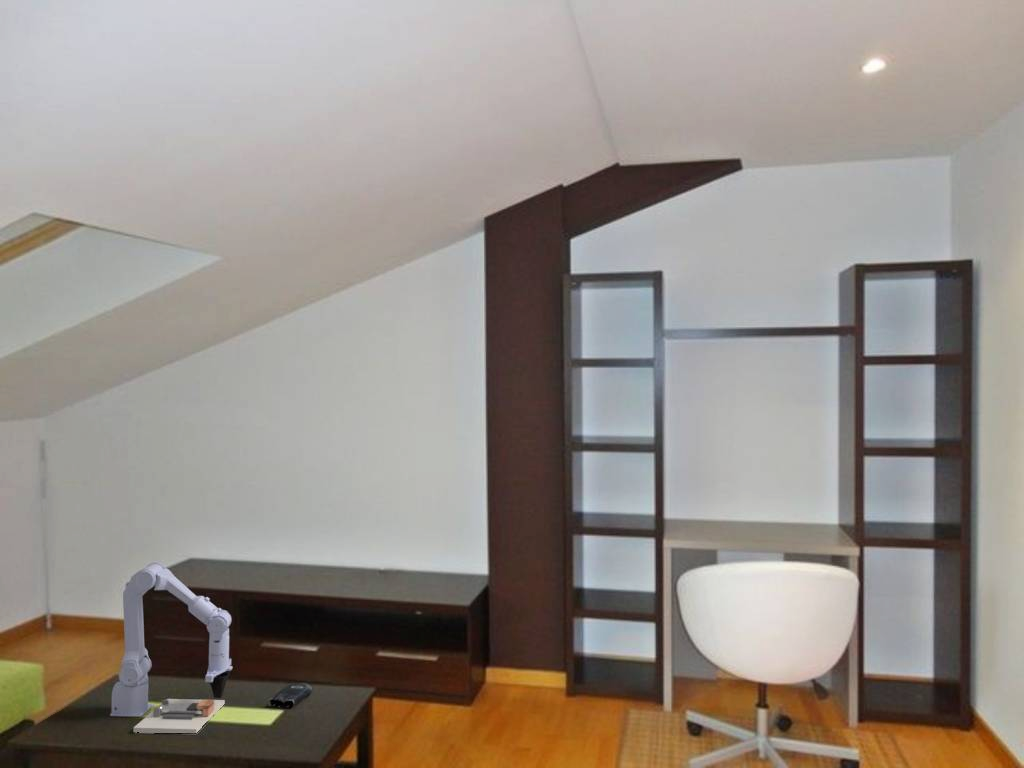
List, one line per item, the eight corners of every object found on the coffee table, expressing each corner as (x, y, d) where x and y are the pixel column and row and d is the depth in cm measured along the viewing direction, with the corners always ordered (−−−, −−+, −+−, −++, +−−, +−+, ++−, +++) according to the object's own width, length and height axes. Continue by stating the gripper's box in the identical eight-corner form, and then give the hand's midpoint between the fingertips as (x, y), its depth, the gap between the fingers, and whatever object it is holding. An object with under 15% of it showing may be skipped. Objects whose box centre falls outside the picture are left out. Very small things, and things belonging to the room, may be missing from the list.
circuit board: (133, 733, 214) (133, 718, 214) (167, 703, 234) (167, 690, 234) (196, 734, 214) (196, 719, 214) (224, 705, 234) (224, 691, 234)
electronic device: (297, 714, 232) (317, 688, 246) (293, 697, 231) (314, 672, 246) (268, 716, 233) (290, 690, 248) (265, 699, 233) (287, 674, 247)
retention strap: (155, 712, 222) (155, 707, 222) (161, 707, 226) (162, 701, 226) (201, 715, 222) (201, 709, 222) (207, 709, 226) (207, 703, 226)
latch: (196, 715, 222) (196, 705, 222) (202, 709, 226) (202, 699, 226) (208, 715, 222) (208, 705, 222) (213, 710, 226) (214, 700, 226)
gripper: (222, 661, 224) (221, 707, 224) (241, 644, 238) (240, 688, 238) (198, 660, 224) (197, 706, 224) (218, 644, 239) (218, 687, 238)
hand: (218, 697), depth 231 cm, fingers closed
